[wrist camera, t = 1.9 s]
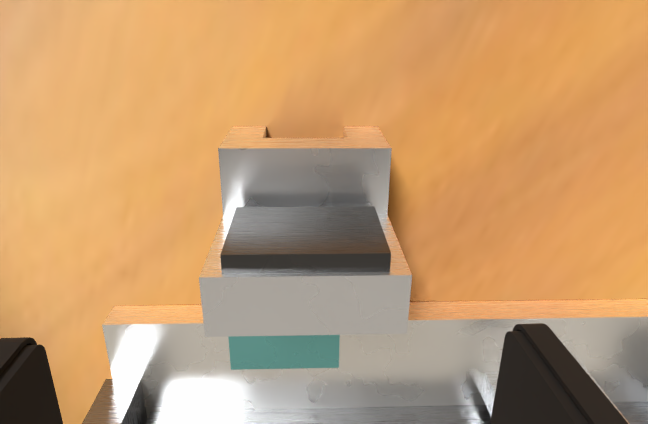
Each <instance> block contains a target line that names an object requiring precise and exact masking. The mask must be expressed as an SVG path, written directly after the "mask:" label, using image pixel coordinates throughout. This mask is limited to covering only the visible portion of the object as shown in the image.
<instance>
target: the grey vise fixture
mask: <svg viewBox="0 0 648 424" xmlns="http://www.w3.org/2000/svg"><path fill="white" fill-rule="evenodd" d="M536 323H543V324H546V325H547V326H548V327H549V328H550V329H551V330H552V331H553V333H554V334H555V335H556V336H557V337H558V339H559V340H560V341H561V342H562V343H563V345H564V346H565V347H566V348H567V350H568V351H569V352H570V353H571V354H572V356H573V357H574V358H575V359H576V360H577V362H578V363H579V364H580V365H581V367H582V368H583V369H584V370H585V371H586V373H587V374H588V375H589V376H590V377H591V379H592V380H593V381H594V382H595V383H596V385H597V386H598V387H599V388H600V390H601V391H602V392H603V393H604V394H605V396H606V397H607V398H608V399H609V400H610V402H611V403H612V404H613V405H614V407H615V408H616V409H617V410H618V411H619V413H620V414H621V415H622V416H623V417H624V419H625V420H626V421H627V422H628V424H648V299H609V300H533V301H456V302H410V305H409V316H408V328H407V334H358V335H294V336H229V337H205V332H204V322H203V312H202V305H152V306H114V307H113V309H112V310H111V312H110V313H109V315H108V316H107V318H106V320H105V321H104V323H103V324H102V326H103V332H104V337H105V342H106V347H107V353H108V358H109V363H110V369H111V374H112V379H106V380H105V382H104V384H103V386H102V388H101V389H100V391H99V393H98V395H97V397H96V399H95V401H94V403H93V404H92V406H91V408H90V410H89V412H88V414H87V416H86V417H85V419H84V421H83V423H82V424H490V421H491V415H492V409H493V403H494V397H495V391H496V385H497V379H498V374H499V368H500V362H501V356H502V350H503V344H504V338H505V334H506V333H507V332H508V331H513V328H514V326H515V325H517V324H536Z"/></svg>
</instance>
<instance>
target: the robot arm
mask: <svg viewBox="0 0 648 424" xmlns="http://www.w3.org/2000/svg"><path fill="white" fill-rule="evenodd" d="M0 424H63V422H62V417H61V413H60V409H59V405H58V401H57V396H56V392H55V388H54V384H53V380H52V375H51V371H50V367H49V363H48V359H47V355H46V351H45V348H44V347H43V346H42V345H37V343H36V341H35V340H34V339H33V338H1V339H0ZM490 424H628V422H627V421H626V420H625V419H624V417H623V416H622V415H621V414H620V413H619V411H618V410H617V409H616V408H615V407H614V405H613V404H612V403H611V402H610V400H609V399H608V398H607V397H606V396H605V394H604V393H603V392H602V391H601V390H600V388H599V387H598V386H597V385H596V383H595V382H594V381H593V380H592V379H591V377H590V376H589V375H588V374H587V373H586V371H585V370H584V369H583V368H582V367H581V365H580V364H579V363H578V362H577V360H576V359H575V358H574V357H573V356H572V354H571V353H570V352H569V351H568V350H567V348H566V347H565V346H564V345H563V343H562V342H561V341H560V340H559V339H558V337H557V336H556V335H555V334H554V333H553V331H552V330H551V329H550V328H549V327H548V326H547V325H546V324H543V323H536V324H517V325H515V326H514V328H513V331H508V332H507V333H506V334H505V338H504V344H503V350H502V356H501V362H500V368H499V374H498V379H497V385H496V391H495V397H494V403H493V409H492V415H491V421H490Z"/></svg>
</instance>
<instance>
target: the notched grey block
mask: <svg viewBox="0 0 648 424" xmlns="http://www.w3.org/2000/svg"><path fill="white" fill-rule="evenodd" d="M218 151H219V165H220V178H221V192H222V205H223V217H222V220H221V223H220V225H219V228H218V230H217V233H216V235H215V238H214V240H213V243H212V246H211V248H210V251H209V253H208V256H207V258H206V261H205V264H204V266H203V269H202V271H201V274H200V276H199V282H200V292H201V302H202V312H203V322H204V332H205V337H229V336H294V335H358V334H407V328H408V316H409V305H410V293H411V282H412V274H411V271H410V269H409V266H408V264H407V261H406V259H405V257H404V254H403V252H402V249H401V247H400V244H399V242H398V239H397V237H396V234H395V232H394V229H393V227H392V224H391V222H390V220H389V217H388V215H387V213H388V197H389V181H390V165H391V147H390V145H389V143H388V142H387V140H386V139H385V137H384V136H383V134H382V132H381V131H380V129H379V128H378V126H344V138H267V134H266V126H232V127H231V129H230V130H229V132H228V133H227V135H226V137H225V138H224V140H223V142H222V143H221V145H220V147H219V148H218Z"/></svg>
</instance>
